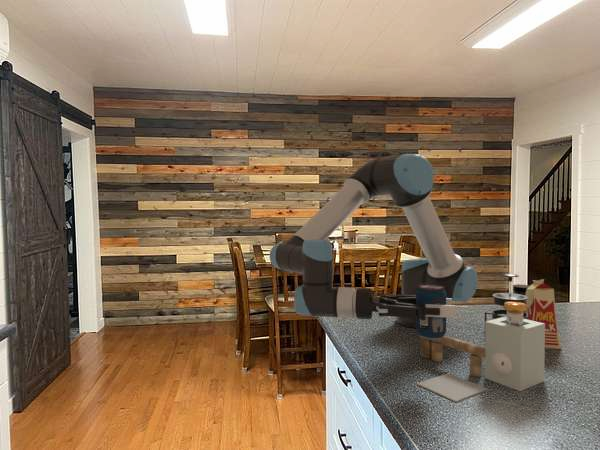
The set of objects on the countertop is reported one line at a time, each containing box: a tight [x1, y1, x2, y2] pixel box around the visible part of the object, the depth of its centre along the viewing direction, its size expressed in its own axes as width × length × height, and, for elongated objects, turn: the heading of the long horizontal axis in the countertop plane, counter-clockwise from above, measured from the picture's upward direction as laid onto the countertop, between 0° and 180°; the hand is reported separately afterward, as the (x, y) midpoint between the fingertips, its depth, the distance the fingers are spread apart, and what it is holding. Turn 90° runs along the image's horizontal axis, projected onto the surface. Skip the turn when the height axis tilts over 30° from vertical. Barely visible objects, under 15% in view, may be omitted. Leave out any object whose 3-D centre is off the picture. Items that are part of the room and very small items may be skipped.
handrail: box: [419, 334, 485, 378], centre depth 114 cm, size 20×4×9 cm, turn 32°
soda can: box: [415, 284, 447, 339], centre depth 103 cm, size 7×7×12 cm
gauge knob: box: [503, 302, 526, 327], centre depth 104 cm, size 5×5×7 cm
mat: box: [416, 372, 488, 403], centre depth 101 cm, size 11×11×1 cm
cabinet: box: [484, 315, 546, 392], centre depth 104 cm, size 9×12×14 cm
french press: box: [483, 273, 528, 342], centre depth 120 cm, size 12×9×23 cm
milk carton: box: [523, 278, 563, 350], centre depth 131 cm, size 9×9×20 cm
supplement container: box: [512, 283, 531, 295], centre depth 167 cm, size 7×7×10 cm
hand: (453, 307), depth 102 cm, fingers closed on soda can, 7 cm apart
